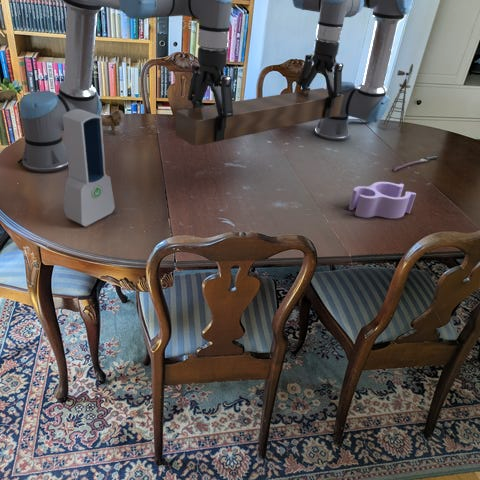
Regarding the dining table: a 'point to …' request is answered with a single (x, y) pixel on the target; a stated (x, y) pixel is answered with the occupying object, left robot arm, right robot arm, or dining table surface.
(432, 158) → the sword
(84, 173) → the electronic device
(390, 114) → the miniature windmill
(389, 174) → the dining table surface
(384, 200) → the clip
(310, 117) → the wide beam
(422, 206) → the dining table surface
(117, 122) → the lion figurine
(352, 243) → the dining table surface
